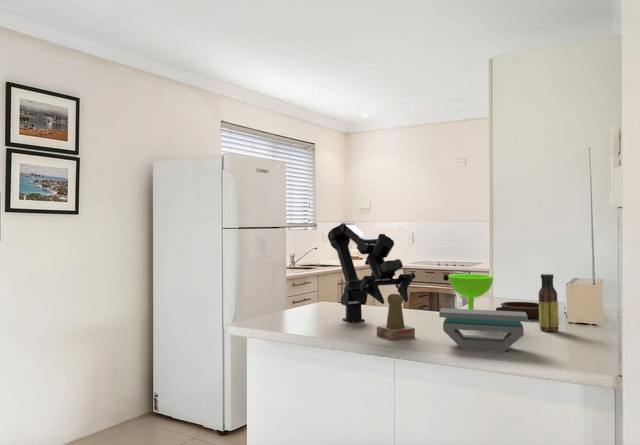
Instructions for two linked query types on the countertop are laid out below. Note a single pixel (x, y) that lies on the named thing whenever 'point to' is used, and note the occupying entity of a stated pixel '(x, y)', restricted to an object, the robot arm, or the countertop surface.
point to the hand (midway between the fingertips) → (395, 302)
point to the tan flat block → (395, 332)
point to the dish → (521, 308)
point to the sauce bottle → (548, 305)
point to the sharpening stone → (483, 328)
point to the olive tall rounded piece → (395, 312)
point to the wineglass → (471, 285)
